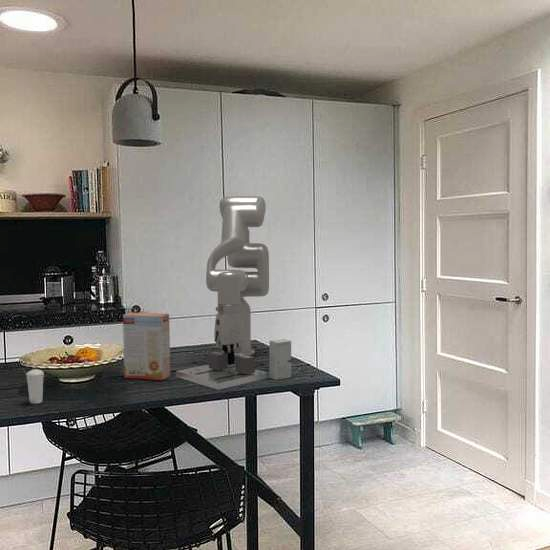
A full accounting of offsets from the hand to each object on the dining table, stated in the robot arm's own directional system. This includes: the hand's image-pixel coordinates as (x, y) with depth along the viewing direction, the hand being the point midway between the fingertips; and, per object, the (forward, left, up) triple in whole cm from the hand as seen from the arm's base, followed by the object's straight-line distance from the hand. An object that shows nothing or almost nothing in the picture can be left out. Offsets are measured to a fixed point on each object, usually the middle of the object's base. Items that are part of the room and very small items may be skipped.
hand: (229, 363), depth 204 cm
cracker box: (-14, -23, -3) cm, 27 cm away
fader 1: (0, -5, -1) cm, 5 cm away
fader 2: (+10, -2, -1) cm, 10 cm away
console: (+3, -6, -3) cm, 7 cm away
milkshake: (-11, -61, -3) cm, 62 cm away
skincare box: (+16, +8, -3) cm, 18 cm away
